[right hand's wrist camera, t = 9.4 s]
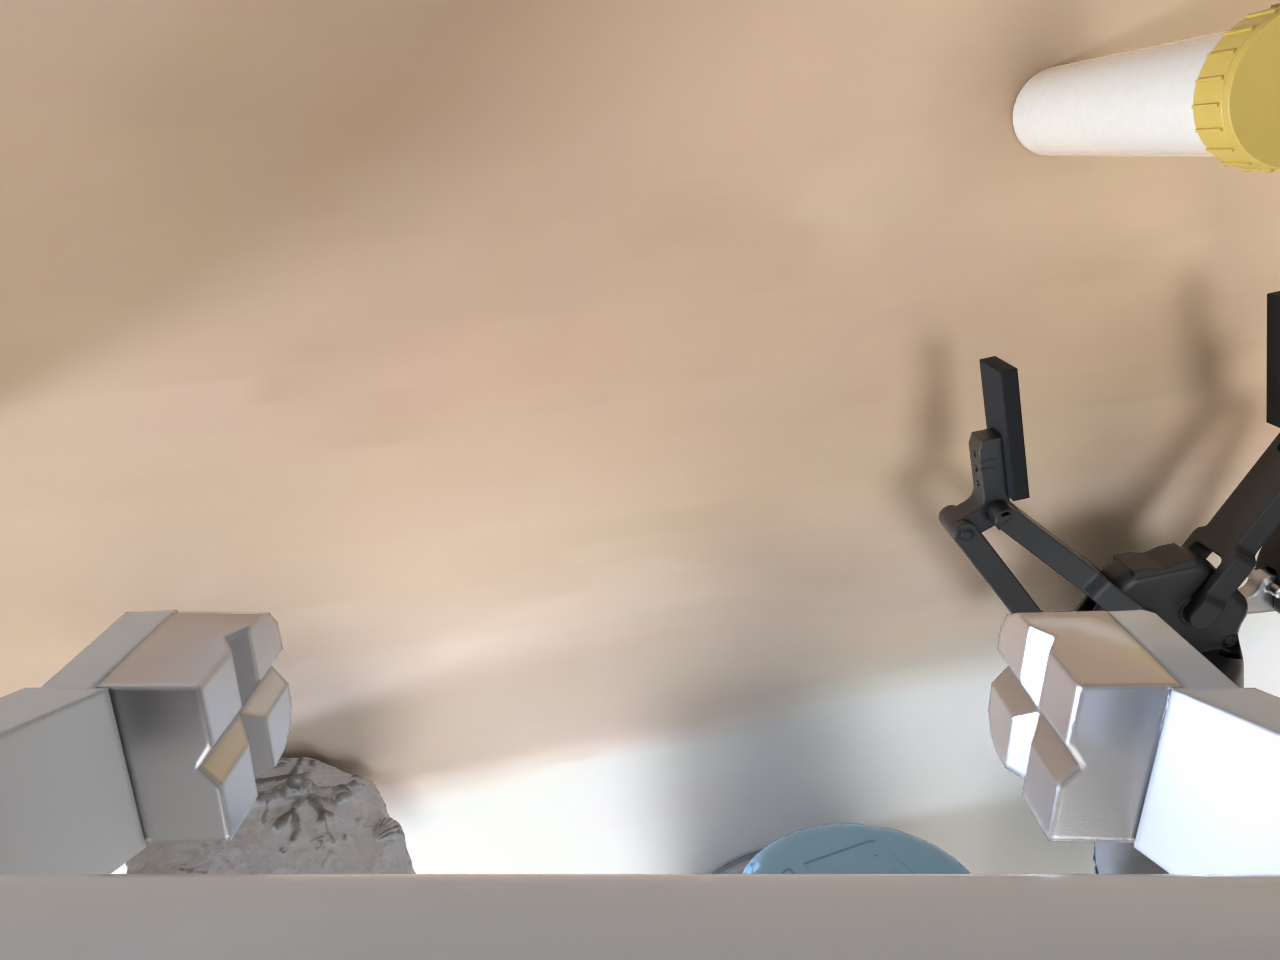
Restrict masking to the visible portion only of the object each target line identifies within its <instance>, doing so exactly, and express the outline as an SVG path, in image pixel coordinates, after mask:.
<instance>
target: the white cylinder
mask: <svg viewBox="0 0 1280 960" xmlns="http://www.w3.org/2000/svg"><path fill="white" fill-rule="evenodd" d="M1226 31H1229V30H1226ZM1226 31H1221V32H1217V33H1212V34H1207V35H1202V36H1197V37H1193V38H1188V39H1183V40H1178V41H1173V42H1169V43H1164V44H1159V45H1154V46H1150V47H1145V48H1140V49H1135V50H1130V51H1126V52H1121V53H1116V54H1111V55H1106V56H1102V57H1097V58H1092V59H1087V60H1082V61H1078V62H1073V63H1068V64H1063V65H1059V66H1054V67H1050V68H1047V69H1044V70H1042V71H1040V72H1039V73H1037V74H1036V75H1034V76H1033V77H1032V78H1031V79H1030V80H1029V81H1028V82H1027V83H1026V84H1025V85H1024V87H1023V88H1022V89H1021V91H1020V93H1019V95H1018V97H1017V99H1016V102H1015V105H1014V110H1013V126H1014V130H1015V133H1016V135H1017V138H1018V139H1019V141H1020V142H1021V143H1022V145H1023V146H1024V147H1025V148H1027V149H1028V150H1029V151H1031V152H1033V153H1035V154H1039V155H1043V156H1150V157H1215V156H1214V155H1213V154H1211V153H1210V152H1207V151H1206V149H1207V148H1206V147H1205V145H1204V144H1203V142H1202V141H1201V139H1200V137H1199V135H1198V133H1196V132H1195V130H1196V126H1195V122H1194V116H1193V109H1192V105H1193V97H1194V90H1195V86H1196V83H1195V81H1196V79H1198V76H1199V73H1200V71H1201V68H1202V66H1203V64H1204V62H1205V61H1206V59H1207V57H1206V56H1207V54H1209V53H1210V52H1211V51H1212V49H1213V48H1214V47H1215V45H1216V44H1217V43H1218V42H1219V41H1220V39H1221V38H1222V37H1223V36H1224V33H1225V32H1226Z"/></svg>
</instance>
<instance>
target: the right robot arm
mask: <svg viewBox="0 0 1280 960" xmlns="http://www.w3.org/2000/svg"><path fill="white" fill-rule="evenodd" d="M282 649H283V647H282V642H281V637H280V632H279V627H278V622H277V621H276V620H275V619H274V618H273V616H272V615H271V614H270V613H260V612H205V611H181V612H179V611H177V610H159V611H135V612H126V613H125V614H124V615H122V616H121V617H120V618H119V619H118V620H117V621H116V622H115V623H113V624H112V625H111V626H110V627H109V628H108V629H107V630H106V631H104V632H103V633H102V634H101V635H100V636H99V637H98V638H96V639H95V640H94V641H93V642H92V643H91V644H90V645H89V646H87V647H86V648H85V649H84V650H83V651H82V652H81V653H80V654H78V655H77V656H76V657H75V658H74V659H73V660H72V661H71V662H69V663H68V664H67V665H66V666H65V667H64V668H63V669H61V670H60V671H59V672H58V673H57V674H56V675H55V676H54V677H52V678H51V679H50V680H49V681H48V682H47V683H46V684H45V685H43V686H42V687H41V688H24V689H22V690H19V691H17V692H14V693H12V694H9V695H6V696H4V697H1V698H0V960H1280V698H1279V697H1276V696H1274V695H1271V694H1268V693H1266V692H1263V691H1261V690H1258V689H1256V688H1239V687H1238V686H1237V685H1236V684H1234V683H1233V682H1232V681H1231V680H1230V679H1229V678H1228V677H1227V676H1225V675H1224V674H1223V673H1222V672H1221V671H1220V670H1219V669H1218V668H1216V667H1215V666H1214V665H1213V664H1212V663H1211V662H1210V661H1209V660H1207V659H1206V658H1205V657H1204V656H1203V655H1202V654H1201V653H1200V652H1198V651H1197V650H1196V649H1195V648H1194V647H1193V646H1192V645H1191V644H1189V643H1188V642H1187V641H1186V640H1185V639H1184V638H1183V637H1182V636H1180V635H1179V634H1178V633H1177V632H1176V631H1175V630H1174V629H1173V628H1171V627H1170V626H1169V625H1168V624H1167V623H1166V622H1165V621H1163V620H1162V619H1161V618H1160V617H1159V616H1158V615H1157V614H1156V613H1153V612H1149V611H1145V610H1128V611H1075V612H1033V613H1015V614H1009V615H1007V616H1006V618H1005V620H1004V622H1003V625H1002V627H1001V630H1000V635H999V641H998V647H997V649H998V651H999V652H1000V654H1001V655H1002V657H1003V658H1004V660H1005V662H1006V663H1007V665H1008V667H1007V668H1006V669H1005V670H1004V671H1003V672H1002V673H1001V674H1000V675H999V676H998V677H997V678H996V679H995V680H994V682H993V683H992V685H991V693H990V701H989V709H988V711H989V721H990V731H991V736H992V739H993V742H994V746H995V749H996V752H997V754H998V755H999V757H1000V759H1001V761H1002V762H1003V764H1004V766H1005V768H1007V769H1008V770H1010V771H1012V772H1013V773H1015V774H1017V775H1018V776H1020V777H1021V778H1023V779H1025V782H1024V788H1023V794H1022V796H1023V798H1024V800H1025V801H1026V803H1027V805H1028V806H1029V808H1030V810H1031V811H1032V813H1033V815H1034V816H1035V818H1036V820H1037V821H1038V823H1039V825H1040V826H1041V828H1042V830H1043V831H1044V833H1045V835H1046V836H1047V838H1048V840H1049V841H1071V842H1108V843H1134V848H1136V849H1137V850H1139V851H1140V852H1141V853H1143V854H1144V855H1145V856H1147V857H1148V858H1149V859H1151V860H1152V861H1153V862H1155V863H1156V864H1158V865H1159V866H1160V867H1162V868H1163V869H1164V870H1166V871H1167V872H1168V873H1170V874H111V873H112V872H113V871H115V870H116V869H117V868H119V867H120V866H121V865H123V864H124V863H126V862H127V861H128V860H130V859H131V858H132V857H134V856H135V855H136V854H138V853H139V852H140V851H142V850H143V849H145V848H146V843H171V842H207V841H231V840H232V838H233V836H234V835H235V833H236V831H237V830H238V828H239V826H240V825H241V823H242V821H243V820H244V818H245V816H246V815H247V813H248V811H249V810H250V808H251V806H252V805H253V803H254V801H255V800H256V798H257V796H258V794H257V788H256V782H255V779H257V778H259V777H260V776H262V775H263V774H265V773H267V772H268V771H270V770H272V769H273V768H275V766H276V764H277V762H278V761H279V759H280V757H281V755H282V753H283V752H284V750H285V746H286V742H287V738H288V734H289V730H290V726H291V698H290V691H289V684H288V683H287V681H286V680H285V679H284V678H283V677H282V676H281V675H280V674H279V673H278V672H277V671H276V670H275V669H274V668H273V667H272V665H273V663H274V662H275V660H276V658H277V657H278V655H279V654H280V652H281V651H282Z"/></svg>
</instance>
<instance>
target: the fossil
mask: <svg viewBox="0 0 1280 960" xmlns="http://www.w3.org/2000/svg"><path fill="white" fill-rule="evenodd" d="M255 782H256V788H257V794H258V796H257V798H256V800H255V801H254V803H253V805H252V806H251V808H250V810H249V811H248V813H247V815H246V816H245V818H244V820H243V821H242V823H241V825H240V826H239V828H238V830H237V831H236V833H235V835H234V836H233V838H232V840H231V841H207V842H171V843H146V848H145V849H143V850H142V851H140V852H139V853H138V854H136V855H135V856H134V857H132V858H131V859H130V860H128V861H127V862H126V865H127V868H128V869H127V874H416V873H415V872H414V870H413V868H412V862H411V859H410V856H409V854H408V851H407V848H406V843H405V835H404V832H403V830H402V828H401V825H400V824H399V823H398V822H397V821H395V820H394V819H392V818H390V816H389V814H388V813H387V810H386V804H385V803H384V801H383V798H382V797H381V796H380V793H379V791H378V790H377V788H376V786H375V785H374V783H373V782H372V781H369V780H366V779H363V778H361V777H359V776H357V775H352V774H349V773H347V772H344V771H341V770H339V769H337V768H336V767H333V766H330V765H327V764H325V763H323V762H321V761H319V760H317V759H313V758H308V757H299V758H280V759H279V761H278V762H277V764H276V766H275V768H273V769H272V770H270V771H268V772H267V773H265V774H263V775H262V776H260V777H259V778H257V779H255Z"/></svg>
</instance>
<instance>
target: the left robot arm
mask: <svg viewBox="0 0 1280 960" xmlns="http://www.w3.org/2000/svg"><path fill="white" fill-rule="evenodd" d="M980 369H981V378H982V387H983V396H984V405H985V415H986V424H987V429H985V430H980V431H976V432H972V433H971V437H970V440H969V449H970V457H971V466H972V474H973V483H974V490H973V493H972V495H971V496H970V497H969V499H967V500H966V501H964V502H963V503H961V504H959V505H957V506H954V505H949V506H947V507H944V508H943V509H942V510H941V512H940V514H939V520H940V522H941V524H942V525H943V526H944V527H945V529H946V530H947V531H948V533H949V534H950V535H951V536H952V538H953V539H954V540H955V542H956V543H957V544H958V545H959V547H960V548H961V549H962V551H963V552H964V553H965V554H966V556H967V557H968V558H969V559H970V561H971V562H972V563H973V565H974V566H975V567H976V568H977V570H978V571H979V572H980V574H981V575H982V576H983V577H984V579H985V580H986V581H987V583H988V584H989V585H990V586H991V588H992V589H993V590H994V592H995V593H996V594H997V595H998V597H999V598H1000V599H1001V600H1002V602H1003V603H1004V604H1005V606H1006V607H1007V608H1008V609H1009V611H1010V612H1011V614H1015V613H1033V612H1043V611H1041V610H1040V609H1039V607H1038V606H1037V605H1036V603H1035V602H1034V601H1033V600H1032V598H1031V597H1030V596H1029V594H1028V593H1027V592H1026V590H1025V589H1024V588H1023V587H1022V585H1021V584H1020V583H1019V581H1018V580H1017V579H1016V577H1015V576H1014V575H1013V573H1012V572H1011V571H1010V570H1009V568H1008V567H1007V566H1006V564H1005V563H1004V562H1003V560H1002V559H1001V558H1000V557H999V555H998V554H997V553H996V551H995V550H994V549H993V547H992V546H991V545H990V543H989V542H988V541H987V540H986V538H985V537H984V536H983V534H982V532H983V531H985V530H987V529H989V528H991V527H992V526H994V525H995V526H996V527H997V528H998V529H999V530H1000V529H1001V530H1002V531H1003V532H1005V533H1006V534H1007V535H1009V536H1010V537H1011V538H1013V539H1014V540H1015V541H1017V542H1018V543H1019V544H1021V545H1022V546H1023V547H1025V548H1026V549H1027V550H1029V551H1030V552H1031V553H1033V554H1034V555H1035V556H1037V557H1038V558H1039V559H1041V560H1042V561H1043V562H1045V563H1046V564H1047V565H1049V566H1050V567H1051V568H1053V569H1054V570H1055V571H1057V572H1058V573H1059V574H1060V575H1062V576H1063V577H1064V578H1066V579H1067V580H1068V581H1070V582H1071V583H1072V584H1074V585H1075V586H1076V587H1078V588H1079V589H1080V590H1082V591H1083V592H1084V593H1085V594H1086V595H1085V596H1084V598H1083V599H1082V601H1081V602H1080V604H1079V605H1078V607H1077V608H1076V610H1075V611H1128V610H1145V611H1149V612H1153V613H1156V614H1157V615H1158V616H1159V617H1160V618H1161V619H1162V620H1163V621H1165V622H1166V623H1167V624H1168V625H1169V626H1170V627H1171V628H1173V629H1174V630H1175V631H1176V632H1177V633H1178V634H1179V635H1180V636H1182V637H1183V638H1184V639H1185V640H1186V641H1187V642H1188V643H1189V644H1191V645H1192V646H1193V647H1194V648H1195V649H1196V650H1197V651H1198V652H1200V653H1201V654H1202V655H1203V656H1204V657H1205V658H1206V659H1207V660H1209V661H1210V662H1211V663H1212V664H1213V665H1214V666H1215V667H1216V668H1218V669H1219V670H1220V671H1221V672H1222V673H1223V674H1224V675H1225V676H1227V677H1228V678H1229V679H1230V680H1231V681H1232V682H1233V683H1234V684H1236V685H1237V686H1238V687H1239V688H1244V663H1243V656H1242V651H1241V647H1240V643H1239V639H1238V632H1239V628H1240V626H1241V624H1242V622H1243V620H1244V618H1245V617H1246V614H1251V613H1261V612H1270V611H1277V612H1278V613H1280V433H1279V434H1278V436H1277V437H1276V438H1275V439H1274V441H1273V442H1272V443H1271V444H1270V446H1269V447H1268V448H1267V450H1266V451H1265V452H1264V453H1263V455H1262V456H1261V457H1260V458H1259V460H1258V461H1257V462H1256V464H1255V465H1254V466H1253V467H1252V469H1251V470H1250V471H1249V472H1248V474H1247V475H1246V476H1245V478H1244V479H1243V480H1242V481H1241V483H1240V484H1239V485H1238V486H1237V488H1236V489H1235V490H1234V492H1233V493H1232V494H1231V495H1230V497H1229V498H1228V499H1227V500H1226V502H1225V503H1224V504H1223V506H1222V507H1221V508H1220V509H1219V511H1218V512H1217V513H1216V514H1215V516H1214V517H1213V518H1212V520H1211V521H1210V522H1209V523H1208V524H1207V525H1206V526H1204V527H1199V528H1197V529H1196V530H1195V531H1193V533H1192V534H1191V535H1190V537H1189V538H1188V539H1187V540H1186V542H1185V543H1184V544H1183V545H1182V547H1179V546H1178V545H1176V544H1175V543H1172V544H1167V545H1162V546H1158V547H1156V548H1154V549H1152V550H1149V551H1147V552H1145V553H1124V554H1119V555H1114V561H1112V562H1110V563H1109V564H1107V565H1106V566H1105V567H1104V568H1103V569H1102V570H1100V569H1098V568H1097V567H1096V566H1094V565H1093V564H1092V563H1090V562H1089V561H1088V560H1087V559H1085V558H1084V557H1083V556H1081V555H1080V554H1079V553H1077V552H1075V551H1074V550H1073V549H1071V548H1070V547H1069V546H1067V545H1066V544H1065V543H1063V542H1062V541H1061V540H1060V539H1058V538H1057V537H1056V536H1054V535H1053V534H1052V533H1050V532H1049V531H1048V530H1046V529H1045V528H1044V527H1043V526H1041V525H1040V524H1039V523H1037V522H1036V521H1035V520H1033V519H1032V518H1031V517H1029V516H1028V515H1027V514H1026V513H1024V512H1023V511H1022V510H1020V509H1019V508H1018V507H1016V506H1015V505H1014V504H1012V503H1011V502H1010V499H1009V497H1010V498H1011V499H1012V500H1013V501H1016V500H1021V499H1026V498H1029V488H1028V478H1027V467H1026V456H1025V446H1024V435H1023V424H1022V414H1021V403H1020V393H1019V382H1018V371H1017V368H1015V367H1013V366H1012V365H1010V364H1008V363H1006V362H1005V361H1003V360H1001V359H999V358H998V357H996V356H993V357H989V358H984V359H980ZM1267 423H1270V424H1272V425H1274V426H1277V427H1279V428H1280V291H1278V292H1273V293H1269V294H1267ZM1262 545H1263V546H1262ZM1261 547H1262V548H1261ZM1260 548H1261V550H1260V552H1259V555H1258V558H1257V561H1256V560H1255V555H1256V553H1257V552H1258V550H1259V549H1260ZM1212 552H1214V553H1216V554H1217V555H1219V556H1220V557H1221V559H1222V562H1221V564H1220V565H1219V566H1218V568H1217V569H1216V568H1215V567H1214V566H1213V565H1212V564H1211V563H1210V562H1209V561H1207V560H1206V558H1207V557H1208V556H1209V555H1210V553H1212ZM1255 565H1256V566H1255ZM1254 567H1255V568H1254ZM1246 577H1248V578H1249V579H1248V581H1247V583H1246V584H1245V585H1244V586H1243V587H1241V588H1239V589H1237V588H1238V587H1239V586H1240V585H1241V584H1242V582H1243V581H1244V580H1245V579H1246ZM1093 860H1094V863H1095V864H1096V867H1095V869H1094V873H1095V874H1170V873H1168V872H1167V871H1166V870H1164V869H1163V868H1162V867H1160V866H1159V865H1158V864H1156V863H1155V862H1153V861H1152V860H1151V859H1149V858H1148V857H1147V856H1145V855H1144V854H1143V853H1141V852H1140V851H1139V850H1137V849H1136V848H1134V843H1108V842H1095V846H1094V856H1093ZM712 874H971V873H970V872H969V871H968V870H967V869H966V868H965V867H964V866H963V865H962V864H961V863H960V862H958V861H957V860H956V859H955V858H953V857H952V856H950V855H949V854H947V853H946V852H944V851H943V850H941V849H940V848H938V847H936V846H934V845H933V844H931V843H929V842H927V841H925V840H922V839H920V838H918V837H915V836H912V835H910V834H907V833H904V832H900V831H897V830H893V829H889V828H874V827H870V826H866V825H863V824H829V825H821V826H815V827H810V828H806V829H803V830H799V831H796V832H794V833H791V834H789V835H786V836H784V837H782V838H780V839H778V840H776V841H774V842H773V843H771V844H769V845H768V846H767V847H765V848H764V849H763V850H761V851H759V852H755V853H752V854H749V855H746V856H743V857H741V858H738V859H736V860H734V861H732V862H730V863H728V864H726V865H724V866H723V867H721V868H719V869H718V870H716V871H715V872H714V873H712Z"/></svg>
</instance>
